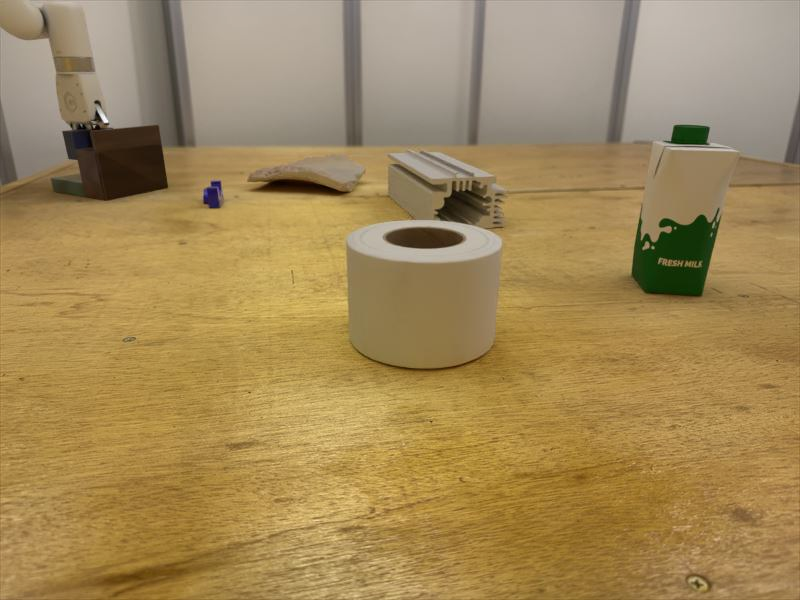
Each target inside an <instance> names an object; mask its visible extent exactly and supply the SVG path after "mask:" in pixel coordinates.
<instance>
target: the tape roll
mask: <svg viewBox="0 0 800 600" xmlns="http://www.w3.org/2000/svg"><path fill="white" fill-rule="evenodd" d="M345 249H346V253H345V254H346V277H347V278H346V281H347V282H346V283H347V308H348V309H347V311H348V315H347V316H348V337H349V341H350V343H351V345H352V346H353V347H354V348H355V349H356V351H358V352H360V353H361V354H362V355H363V356H366V357H367V358H369V359H371V360H374V361H377V362H379V363H382V364H385V365H386V364H387V365H390V366H395V367H402V368H409V369H442V368H449V367H455V366H458V365H463V364H465V363H468V362H472V361H474V360H476V359H479V358H480V357H482V356H484V355H485V354H487V353H488V351H490V349H491V348H492V346H494V344H495V340H496V326H497V317H498V316H497V315H498V314H497V313H498V304H499V303H498V302H499V291H500V290H499V289H500V279H501V277H500V276H501V267H502V265H501V264H502V255H503V240H502V238H501V237H500V236H499V235H497V234H496V233H494V231H493V232H492V231H491V230H489V229H487V228H485V229H483V228H480V227H476V226H472V225H468V224H462V223H456V222H447V221H434V220H416V219H408V220H407V219H406V220H390V221H384V222H378V223H374V224H369V225H365V226H363V227H360V228H357V229H355V230H353V231H352V232H350V233H349V234H348V235H347V237H346V239H345Z"/></svg>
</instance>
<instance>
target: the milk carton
mask: <svg viewBox="0 0 800 600" xmlns="http://www.w3.org/2000/svg"><path fill="white" fill-rule="evenodd" d="M710 129H711V127H710V126H707V125H698V124H675V125H673V127H672V133H671V138H670V140H662V141H660V140H659V141H658V140H654V141H652V144H651V151H650V156H649V163H648V169H647V175H646V180H645V186H644V190H643V196H642V202H641V206H640V212H639V218H638V223H637V229H636V234H635V240H634V245H633V247H634V248H633V254H632V263H631V264H632V265H631V273H630V274H631V276H632V277H633V278H634V279H635V281H636V282H637V283H638V285H639V286H640V287H641V289H642V291H643V292H644V293H650V294H663V295H664V294H665V295H666V294H667V295H668V294H669V295H681V296H683V295H684V296H700V297H702V296H703V293H704V289H705V285H706V281H707V276H708V273H709V269H710V264H711V260H712V257H713V251H714V247H715V244H716V240H717V236H718V231H719V228H720V224H721V220H722V219H721V218H722V216H723V211H724V207H725V203H726V198H727V195H728V191H729V187H730V183H731V180H732V177H733V175H734V171H735V169H736V166H737V162H738V161H739V158H740V155H741V153H742V151H740V150H736V149H734V148H733V147H732V146H728V145H723V144H720V143H716V142H708V140H709V134H710Z"/></svg>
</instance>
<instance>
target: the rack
mask: <svg viewBox="0 0 800 600" xmlns="http://www.w3.org/2000/svg"><path fill="white" fill-rule="evenodd" d="M90 134H91V139H92V144H93V147H90V148H81V149H75V151H76V156H77V160H76V161H77V164H78V165H77V166H78V170H79V173H75V174H69V175H62V176H56V177H51V178H50V182H51V187H52V191H53V192H54V193H60V194H66V195H72V196H78V197H82V198H90V199H95V200H101V201H106V202H107V201H112V200H116V199H120V198H121V199H122V198H126V197H130V196H135V195H140V194H145V193H149V192H150V193H151V192H154V191H159V190H164V189H168V188H169V182H168V177H167V176H168V175H167V171H166V170H167V169H166V163H165V156H164V151H163V144H162V137H161V131H160V125H159V124H149V125H139V126H128V127H117V128H114V129H105V130H94V131H90Z"/></svg>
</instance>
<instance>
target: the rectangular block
mask: <svg viewBox="0 0 800 600" xmlns="http://www.w3.org/2000/svg"><path fill="white" fill-rule="evenodd" d="M106 129H115V128H114V127H110V126H108V127H107V128H106ZM61 132H62V137H63V142H64V147H65V150H66V154H67V159H68V160H71V161H78V160H77V156H76V151H75V149H81V148H90V142H89V138H91V136H90V134H89V130H88V129H78V130H72V129H68V130H62V131H61Z"/></svg>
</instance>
